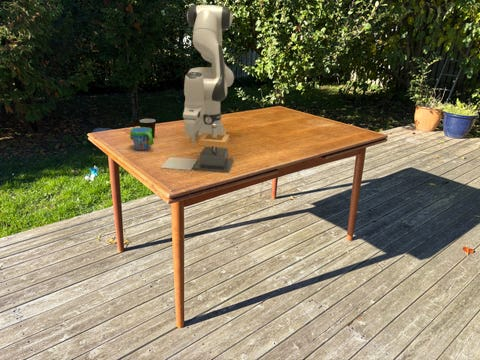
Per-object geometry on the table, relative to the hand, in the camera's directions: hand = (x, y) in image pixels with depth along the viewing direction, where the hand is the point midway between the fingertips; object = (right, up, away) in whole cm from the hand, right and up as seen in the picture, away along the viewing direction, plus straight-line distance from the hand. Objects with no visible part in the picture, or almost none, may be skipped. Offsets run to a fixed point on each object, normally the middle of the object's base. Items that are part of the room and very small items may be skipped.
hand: (195, 140), depth 171 cm
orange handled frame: (+6, -1, -1) cm, 7 cm away
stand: (+9, -11, +3) cm, 15 cm away
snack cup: (-30, -2, +22) cm, 38 cm away
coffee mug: (-33, +6, +40) cm, 52 cm away
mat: (-8, -11, +3) cm, 14 cm away
